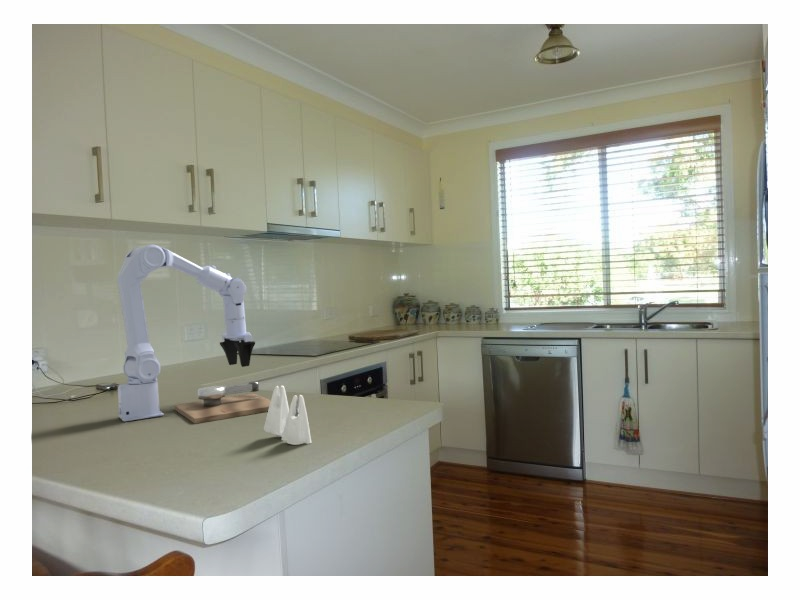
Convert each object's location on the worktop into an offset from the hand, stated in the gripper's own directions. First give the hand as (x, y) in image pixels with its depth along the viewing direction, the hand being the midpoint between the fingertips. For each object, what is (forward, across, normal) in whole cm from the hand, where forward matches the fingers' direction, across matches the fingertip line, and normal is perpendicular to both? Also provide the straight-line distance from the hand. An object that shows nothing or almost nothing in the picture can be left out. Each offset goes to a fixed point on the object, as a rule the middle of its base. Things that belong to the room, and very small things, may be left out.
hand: (239, 365), depth 164 cm
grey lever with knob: (+6, -9, +8) cm, 13 cm away
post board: (+9, -11, +10) cm, 18 cm away
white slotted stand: (+9, -52, +17) cm, 55 cm away
